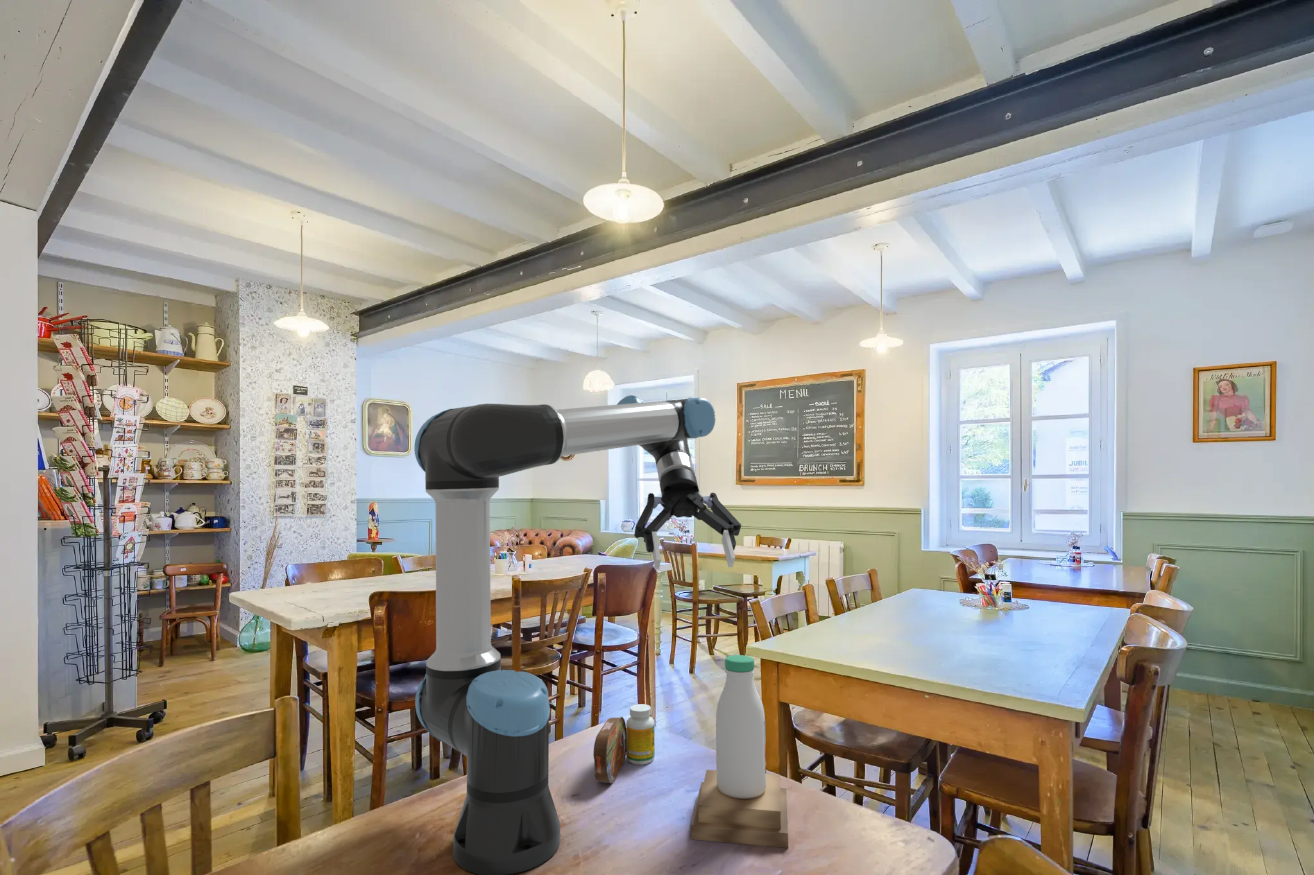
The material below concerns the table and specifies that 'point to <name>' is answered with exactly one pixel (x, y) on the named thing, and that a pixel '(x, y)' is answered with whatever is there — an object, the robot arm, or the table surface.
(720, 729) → the milk bottle
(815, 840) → the table surface
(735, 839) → the plinth
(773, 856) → the table surface
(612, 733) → the tin
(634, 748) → the supplement bottle
